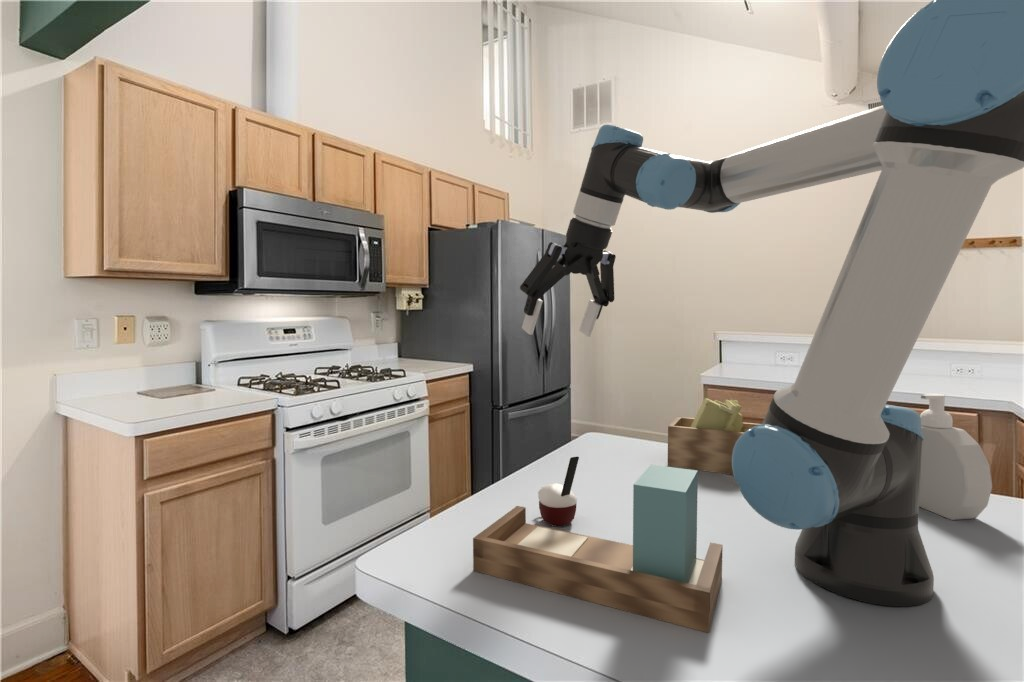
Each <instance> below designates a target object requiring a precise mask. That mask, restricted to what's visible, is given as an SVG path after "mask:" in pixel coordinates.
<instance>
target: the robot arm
mask: <svg viewBox="0 0 1024 682" xmlns="http://www.w3.org/2000/svg"><path fill="white" fill-rule="evenodd" d="M876 76H877V77H876V88H877V93H878V96H879V98H880V102H881V104H882V105H879V106H876V107H873V108H871V109H866V110H864V111H860V112H858V113H854V114H851V115H849V116H845V117H843V118H840V119H836V120H833V121H830V122H828V123H824V124H822V125H818V126H815V127H812V128H810V129H809V128H808V129H806V130H803V131H800V132H797V133H794V134H791V135H787V136H784V137H781V138H778V139H774V140H772V141H769V142H766V143H763V144H760V145H757V146H754V147H751V148H748V149H745V150H742V151H739V152H736V153H733V154H729V155H726V156H723V157H720V158H717V159H714V160H710V161H705V160H700V159H695V158H691V157H685V156H682V155H677V154H673V153H669V152H663V151H659V150H655V149H649V148H646V147H645V148H644V147H643V143H644V136H643V135H642V134H641V133H639V132H637V131H634V130H631V129H628V128H623V127H621V126H620V127H619V126H616V125H613V124H604V125H601V126H600V128H599V130H598V132H597V133H596V134H597V135H596V137H595V140H594V142H593V145H592V146H591V148H590V149H591V151H590V154H589V158H588V162H587V164H586V165H587V166H586V168H585V172H584V174H583V178H582V181H581V184H580V189H579V192H578V195H577V198H576V201H575V204H574V208H573V215H575V216H572V217H571V218H570V220H569V223H568V227H567V230H566V232H565V237H566V239H565V240H566V241H565V243H564V245H562V246H561V245H559V244H557V243H555V242H553V241H551V242H548V245H547V246H546V247H547V248H546V250H545V253H544V254H543V255H542V257H541V258H540V259H539V261H538V262H537V264H535V266H534V268H532V270H531V271H530V273H529V274H528V275H527V277H525V279H524V280H523V282H522V283H521V285H520V286H519V289H520V290H521V292H523V293H524V294H525V295H527V298H526V301H525V305H524V308H523V312H524V313H525V315H524V318H523V321H522V325H521V329H522V330H523V331H524V332H525V333H527V335H531V336H533V335H534V331H535V327H536V324H537V321H538V319H539V315H540V313H541V312H540V311H541V308H542V305H543V302H544V301H543V300H542V299H541V297H543V296H544V295H545V294H546V293H547V292H548V291H549V290H551V289H552V288H553V287H554V286H555V285H557V283H559V281H560V280H562V279H563V278H564V277H565V276H569V275H570V274H574V275H578V274H581V275H582V276H583V275H584V276H585V277H586V279H587V282H588V286H589V288H590V291H591V294H592V297H593V299H589V300H588V302H587V303H588V304H587V306H586V310H585V312H584V315H583V318H582V322H581V323H580V327H579V332H581V333H582V334H584V335H585V337H591V335H592V333H593V329H594V326H595V324H596V321H597V320H599V317H600V315H601V313H602V310H603V307H608V306H609V303H613V302H614V301H615V277H614V276H615V275H614V271H615V270H614V266H615V261H616V254H615V253H612V252H611V251H609V250H608V249H607V248H608V246H609V243H610V240H611V237H612V235H613V229H612V227H614V226H615V225H616V222H617V220H618V216H619V214H620V210H621V207H622V204H623V202H624V198H625V196H628V197H630V198H632V199H635V200H638V201H640V202H643V203H645V204H647V205H648V206H650V207H652V208H653V207H654V208H660V209H664V210H675V209H676V208H684V209H689V210H690V209H691V210H697V211H703V212H707V213H710V214H711V213H712V214H713V213H714V214H715V213H728V212H730V211H733V210H734V209H736V208H737V207H738V206H739V205H741V203H745V202H746V203H747V202H750V201H754V200H759V199H763V198H767V197H771V196H772V197H773V196H775V195H780V194H785V193H789V192H792V191H798V190H801V189H806V188H811V187H815V186H819V185H823V184H828V183H832V182H836V181H841V180H845V179H849V178H854V177H858V176H862V175H866V174H867V175H868V174H871V173H876V172H880V173H879V176H878V178H877V181H876V183H875V186H874V188H873V191H872V193H871V195H870V198H869V200H868V203H867V205H866V207H865V211H864V213H863V215H862V218H861V219H860V222H859V225H858V227H857V229H856V232H855V234H854V237H853V240H852V241H851V245H850V246H849V250H848V251H847V254H846V256H845V259H844V261H843V264H842V267H841V269H840V271H839V273H838V276H837V279H836V281H835V284H834V286H833V289H832V290H831V293H830V296H829V299H828V301H827V303H826V306H825V307H824V310H823V313H822V316H821V317H820V321H819V323H818V325H817V327H816V329H815V332H814V334H813V338H812V340H811V342H810V344H809V347H808V350H807V351H806V355H805V357H804V359H803V362H802V364H801V366H800V369H799V371H798V374H797V376H796V379H795V381H794V383H793V384H791V385H788V386H785V387H781V388H778V390H777V389H776V391H775V393H774V394H773V396H772V399H771V401H770V404H769V407H768V409H767V411H766V414H765V416H764V419H763V421H762V423H759V424H760V425H757V426H754V427H752V428H750V429H748V430H747V431H746V432H744V433H743V434H742V435H741V436H740V437H739V438H738V440H737V441H736V443H735V446H734V448H733V453H732V470H733V474H734V475H733V474H732V475H733V478H734V480H735V482H736V483H737V484H738V486H739V492H740V494H741V495H742V497H743V498H744V500H745V501H746V502H747V503H748V505H749V506H750V507H751V508H752V509H753V510H754V512H756V513H757V514H758V515H760V517H762V518H763V519H764V520H766V521H768V522H770V523H772V524H774V525H776V526H777V527H778V526H779V527H781V528H784V529H789V530H800V532H799V533H800V534H799V536H798V538H797V541H796V542H795V546H794V564H795V565H794V566H795V567H796V569H797V570H798V571H799V572H800V574H801V575H803V576H804V577H805V578H807V579H808V581H811V582H812V583H814V584H816V585H818V586H819V587H821V588H823V589H825V590H828V591H830V592H832V593H834V594H838V595H840V596H843V597H846V598H850V599H852V600H856V601H860V602H864V603H868V604H874V605H881V606H889V607H912V606H918V605H922V604H925V603H927V602H929V601H931V599H933V596H934V587H935V585H934V581H935V577H934V572H933V569H932V565H931V563H930V559H929V558H928V554H927V551H926V549H925V545H924V543H923V540H922V537H921V534H920V530H919V510H920V507H919V493H920V473H921V453H922V441H923V440H924V436H923V434H922V420H921V417H920V415H921V414H919V413H918V411H917V410H914V409H912V408H908V407H904V406H898V405H893V404H887V403H888V400H889V398H890V396H891V394H892V392H893V390H894V388H895V386H896V384H897V381H898V380H899V378H900V376H901V374H902V372H903V369H904V368H905V365H906V363H907V361H908V359H909V357H910V354H911V353H912V351H913V348H914V346H915V344H916V343H917V340H918V339H919V336H920V334H921V332H922V330H923V328H924V326H925V324H926V321H927V320H928V318H929V316H930V314H931V311H932V309H933V308H934V305H935V303H936V301H937V299H938V297H939V295H940V293H941V291H942V289H943V287H944V284H945V283H946V281H947V278H948V276H949V274H950V272H951V270H952V268H953V266H954V265H955V262H956V260H957V258H958V256H959V253H960V252H961V249H962V248H963V245H964V243H965V241H966V239H967V236H968V235H969V233H970V232H971V228H972V227H973V225H974V223H975V220H976V218H977V216H978V214H979V212H980V210H981V208H982V207H983V204H984V202H985V200H986V197H987V196H988V193H990V189H991V187H992V186H993V185H994V184H995V183H996V182H997V181H999V180H1001V179H1003V178H1005V177H1008V176H1010V175H1012V174H1014V173H1015V172H1018V171H1020V170H1023V169H1024V0H931V1H930V2H929V3H928V4H926V5H925V6H924V7H922V8H920V9H918V10H917V11H916V12H915V13H913V14H912V15H911V16H910V17H909V18H908V20H906V21H905V23H904V24H903V25H902V26H901V27H900V28H899V30H898V31H897V32H896V34H894V36H893V37H892V39H891V40H890V42H889V44H888V45H887V47H886V49H885V51H884V53H883V55H882V57H881V60H880V63H879V65H878V70H877V75H876ZM606 249H607V250H606ZM598 265H599V268H598ZM599 270H600V271H599Z"/></svg>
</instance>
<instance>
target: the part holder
mask: <svg viewBox="0 0 1024 682" xmlns="http://www.w3.org/2000/svg"><path fill="white" fill-rule="evenodd" d="M694 419H695V417H683V416H677V417H676V418H675V419H673V420H672V421H671V423H670V424H668V425H667V467H674V468H682V469H689V470H697V471H704V472H710V473H711V472H712V473H719V474H725V475H733V476H734V474H733V470H732V453H733V448H734V446H735V443H736V441H737V440H738V438H739V437H740V436H741V435H742V434H743V433H744V430H745V429H747V430H748V429H750V428H752V427H754V426H757V425H760V424H761V423H756V422H755V423H753V422H743V421H742V423H743V427H742V429H741V431H740V432H734V431H723V430H713V429H702V428H692V427H691V425H692V423H693V421H694Z"/></svg>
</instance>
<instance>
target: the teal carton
mask: <svg viewBox="0 0 1024 682" xmlns="http://www.w3.org/2000/svg"><path fill="white" fill-rule="evenodd" d="M698 477H699V470H694V469H686V468H679V467H671V466H665V465H656V464H649V466H648V467H647V468H646V469H645V471H644V472H643V473H642V474H641V475H640V476H639V478H638V479H636V481H635V482H634V483H633V489H632V492H633V496H632V497H633V498H632V499H633V500H632V501H633V502H632V503H633V504H632V512H633V513H632V516H633V517H632V518H633V519H632V521H633V522H632V545H633V571H636V572H641V573H645V574H650V575H654V576H658V577H663V578H667V579H672V580H676V581H680V582H685V583H689V580H690V577H691V574H692V572H693V569H694V566H695V563H696V558H697V549H698V548H697V546H698V545H697V544H698V543H697V542H698V541H697V540H698V539H697V538H698V533H697V532H698V486H699V485H698V484H699V482H698V481H699V478H698Z"/></svg>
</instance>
